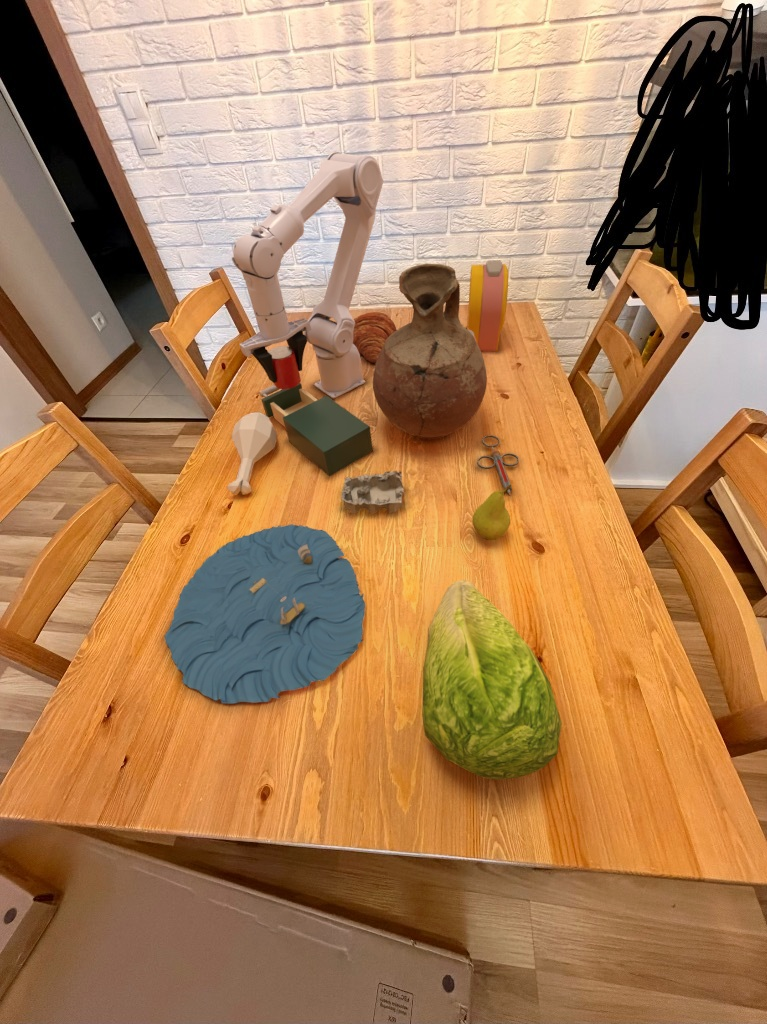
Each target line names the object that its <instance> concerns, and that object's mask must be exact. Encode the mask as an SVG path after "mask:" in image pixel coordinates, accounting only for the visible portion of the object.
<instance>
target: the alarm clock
mask: <svg viewBox="0 0 767 1024" xmlns="http://www.w3.org/2000/svg"><path fill="white" fill-rule="evenodd" d="M469 278H470V279H469V291H468V292H469V293H468V307H467V308H468V309H467V324H466V329H468V330H471V331H472V332H473V333H474V336H475V338H476V342H477V344H478V346H479V348H480V351H481V352H498V351H499V343H500V337H501V336H500V335H501V332H502V330H503V329H504V326H505V320H506V313H507V304H508V296H509V295H508V293H509V269H508V266H507V264H506V263H503V261H501V260H500V259H496V260H494V259H491V260H487V261H486V263H485V264H471V266H470V277H469Z"/></svg>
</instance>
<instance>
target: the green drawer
mask: <svg viewBox="0 0 767 1024" xmlns="http://www.w3.org/2000/svg"><path fill="white" fill-rule="evenodd" d="M258 394H259V396H260V397H261V403H262V407H263V409H264V413H265V415H266V416H267V417H268V418H269V419H271V418H272V417H274V419H275V420H276V421H277V422H278V423H279V424H281V425H282V426H283V427H284V428H285V425H284V421H283V417H285V416H287V415H289V414H291V413H293V412H295V411H297V410H299V409H301V408H303V407H305V406H307V405H309V404H311V403H313V402H315V401H317V400H319V399H317V398H316V397H315V396H314V395H312V394H311V393H310V392H308V391H307V390H306V389H304V388H303V386H302V383H301V382H300V383H299V384H298V385H297V386H295V387H293V388H290V389H279V388H277V387H276V386H275V385H274V384H273V385H270V386H268V387H266V388H264V389H262V390H259V391H258Z"/></svg>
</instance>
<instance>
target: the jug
mask: <svg viewBox="0 0 767 1024" xmlns="http://www.w3.org/2000/svg"><path fill="white" fill-rule="evenodd" d="M398 283H399V285H398V289H399V292H400V293H401V294H403V295H404V297H405V299H406V300H407V301H408V302H409V303H410V304H411V306H412V309H413V312H412V318H411V319H412V320H411V322H408V323H406V324H405V325H402V327H399V328H398V329H396V331H395V332H393V333H392V334H391V335H390V336H389V337H388V338H387V339H386V341H385V344H384V346H383V348H382V349H381V352H380V354H379V356H378V359H377V361H376V363H375V366H374V370H373V375H372V391H373V396H374V398H375V400H376V403H377V406H378V408H379V409H380V411H381V412H382V413H383V415H384V416H385V417H386V419H387V420H388V421H389V422H390V423H391V424H392V425H394V426H395V427H396V428H398V429H399V430H401V431H402V432H405V433H406V434H408V435H412V436H414V437H416V438H421V439H423V440H437V439H440V438H443V437H445V436H447V435H450V434H452V433H455V432H457V431H459V430H460V429H462V428H463V427H465V426H466V425H467V424H468V423H469V422H470V421H471V420H472V419H473V417H474V416H475V415H476V414H477V412H478V410H479V409H480V407H481V405H482V403H483V400H484V398H485V395H486V390H487V385H488V382H487V381H488V377H487V367H486V363H485V359H484V355H483V353H482V351H480V348H479V346H478V344H477V342H476V341H475V339H474V337H473V335H472V334H471V333H470V332H469V331H468V330H467V327H465V326H463V324H462V323H461V320H460V317H459V314H460V302H461V301H460V299H461V291H460V290H461V285H460V283H459V280H458V279H457V276H456V270H455V268H454V267H451V266H449V265H446V264H442V263H421V264H416V265H413V266H410V267H409V268H407V269H405V270H404V271H401V274H400V275H399V277H398Z"/></svg>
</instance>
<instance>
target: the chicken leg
mask: <svg viewBox="0 0 767 1024" xmlns="http://www.w3.org/2000/svg"><path fill="white" fill-rule="evenodd" d="M231 439H232V442H233V444H234V446H235V449H236V451H237V453H238V455H239V457H240V464H239V467H238V472H237V475H236V478H235V480H233V481H231V482H230V483H228V484H227V490H228V491H229V492H230V494H232V495H234V496H237V495H238V494H239V493H240V492H241V495H248V494H250V493H251V492H252V486H251V485H250V480H251V477H252V472H253V469H254V465H255V463H257V462H258V461H259V460H260V459H262V458H263V457H265V456H266V455H268V453H270V452H271V451H273V449H275V448H276V443H277V439H278V434H277V432H276V429H275V427H274V424H273V423H272V421H271V419H270V418H268V417H267V416H266V414H264V413H262V412H259V411H258V412H257V411H255V412H250V413H248V414H245V415H244V416H242V417H241V418H240V419H239V420H238V421H237V422H236V423H235V424H234V426H233V430H232V433H231Z"/></svg>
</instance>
